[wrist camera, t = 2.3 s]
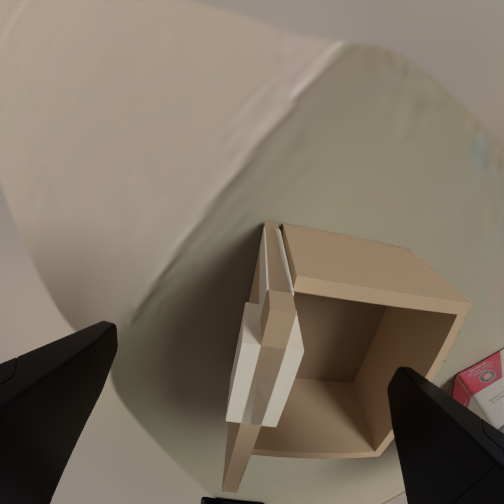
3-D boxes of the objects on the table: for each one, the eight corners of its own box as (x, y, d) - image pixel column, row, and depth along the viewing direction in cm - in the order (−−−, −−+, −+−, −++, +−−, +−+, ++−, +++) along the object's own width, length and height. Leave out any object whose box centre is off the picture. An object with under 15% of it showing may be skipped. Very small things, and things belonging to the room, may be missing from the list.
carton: (355, 382, 18) (379, 456, 12) (248, 371, 18) (244, 453, 12) (408, 249, 15) (471, 303, 9) (282, 223, 15) (296, 275, 9)
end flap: (252, 374, 17) (247, 493, 10) (226, 370, 17) (210, 488, 10) (287, 225, 14) (316, 316, 7) (255, 219, 14) (249, 306, 7)
